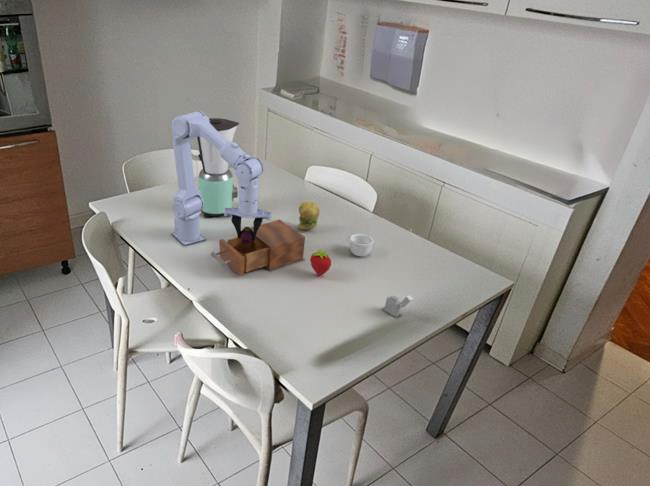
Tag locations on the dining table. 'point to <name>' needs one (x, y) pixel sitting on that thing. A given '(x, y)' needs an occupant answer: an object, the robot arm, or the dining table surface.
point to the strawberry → (320, 262)
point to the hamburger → (308, 215)
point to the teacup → (360, 244)
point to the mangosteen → (246, 235)
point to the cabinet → (281, 243)
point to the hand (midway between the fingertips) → (246, 237)
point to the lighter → (396, 304)
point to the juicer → (216, 171)
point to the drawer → (242, 255)
